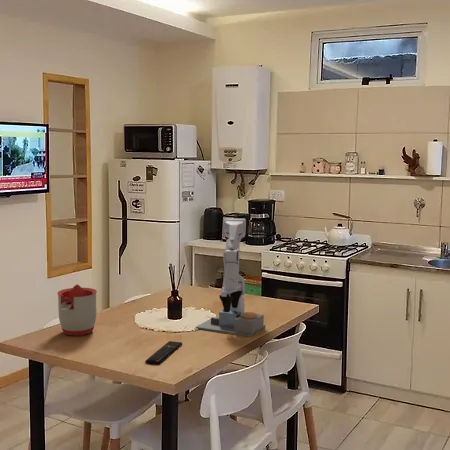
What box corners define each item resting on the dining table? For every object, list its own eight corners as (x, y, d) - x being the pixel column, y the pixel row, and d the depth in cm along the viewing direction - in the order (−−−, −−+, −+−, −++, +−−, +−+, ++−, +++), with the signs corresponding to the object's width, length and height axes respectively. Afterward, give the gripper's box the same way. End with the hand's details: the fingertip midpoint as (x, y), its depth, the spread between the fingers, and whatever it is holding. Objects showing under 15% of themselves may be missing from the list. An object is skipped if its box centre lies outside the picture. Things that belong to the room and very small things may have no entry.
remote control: (182, 345, 241) (182, 342, 241) (158, 366, 218) (158, 362, 218) (169, 344, 242) (169, 341, 242) (144, 365, 219) (144, 361, 219)
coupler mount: (212, 319, 276) (212, 303, 275) (265, 326, 265) (265, 310, 264) (195, 328, 261) (195, 312, 261) (250, 336, 251) (250, 320, 250)
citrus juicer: (47, 336, 249) (46, 287, 247) (72, 325, 265) (71, 279, 263) (81, 341, 244) (80, 291, 241) (104, 329, 260) (104, 282, 257)
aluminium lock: (223, 323, 267) (223, 308, 266) (240, 325, 264) (240, 310, 263) (218, 325, 263) (219, 310, 262) (236, 328, 260) (236, 312, 259)
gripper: (229, 274, 269) (229, 304, 271) (214, 280, 256) (214, 312, 258) (244, 275, 266) (244, 306, 268) (230, 282, 253) (230, 314, 255)
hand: (230, 309), depth 262 cm, fingers open, 7 cm apart
